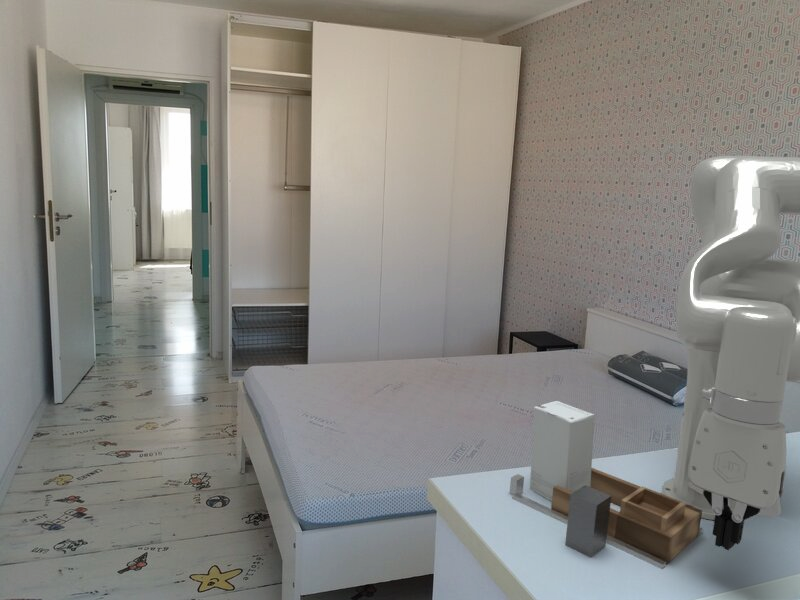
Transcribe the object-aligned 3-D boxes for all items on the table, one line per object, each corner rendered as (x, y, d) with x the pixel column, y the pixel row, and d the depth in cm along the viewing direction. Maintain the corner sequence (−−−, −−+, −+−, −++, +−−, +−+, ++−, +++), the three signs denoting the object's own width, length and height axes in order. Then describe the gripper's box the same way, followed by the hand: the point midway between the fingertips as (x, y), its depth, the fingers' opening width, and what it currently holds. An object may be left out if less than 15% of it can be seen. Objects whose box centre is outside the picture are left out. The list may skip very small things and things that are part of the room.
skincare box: (589, 502, 102) (599, 415, 99) (563, 511, 99) (573, 421, 96) (551, 480, 109) (559, 398, 106) (525, 488, 106) (533, 404, 103)
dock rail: (552, 471, 112) (554, 455, 112) (702, 533, 95) (704, 514, 94) (506, 496, 103) (507, 479, 102) (662, 570, 85) (664, 549, 84)
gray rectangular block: (579, 536, 92) (585, 485, 91) (605, 548, 90) (611, 495, 88) (565, 546, 90) (570, 493, 88) (590, 559, 87) (596, 505, 85)
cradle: (587, 489, 106) (590, 455, 105) (698, 535, 94) (704, 497, 92) (550, 510, 99) (554, 475, 97) (666, 564, 86) (672, 524, 85)
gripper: (673, 397, 81) (655, 530, 84) (807, 431, 71) (782, 582, 74) (696, 387, 87) (679, 513, 89) (823, 418, 76) (799, 559, 79)
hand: (725, 544), depth 82 cm, fingers closed
